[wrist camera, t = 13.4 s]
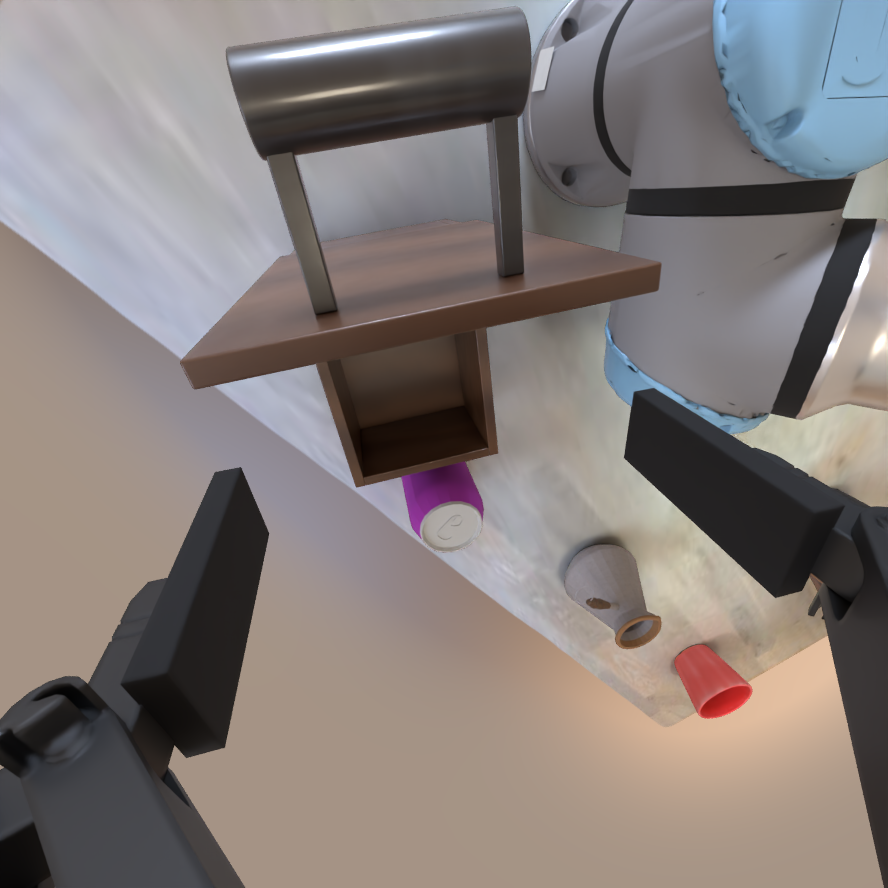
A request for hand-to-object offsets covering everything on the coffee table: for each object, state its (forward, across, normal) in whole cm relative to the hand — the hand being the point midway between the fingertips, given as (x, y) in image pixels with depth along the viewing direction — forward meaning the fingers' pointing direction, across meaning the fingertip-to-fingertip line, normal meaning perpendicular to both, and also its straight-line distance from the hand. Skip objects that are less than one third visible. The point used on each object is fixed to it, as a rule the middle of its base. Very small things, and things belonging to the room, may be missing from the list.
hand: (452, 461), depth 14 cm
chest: (+31, +1, -5) cm, 31 cm away
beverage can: (+31, +3, -21) cm, 38 cm away
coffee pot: (+31, +23, -41) cm, 56 cm away
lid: (+10, 0, +4) cm, 11 cm away
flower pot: (+31, +51, -80) cm, 100 cm away
